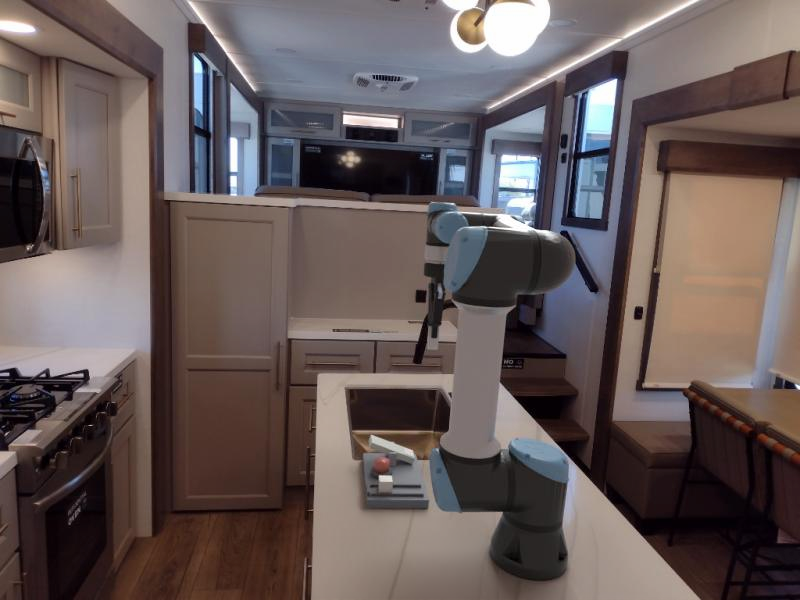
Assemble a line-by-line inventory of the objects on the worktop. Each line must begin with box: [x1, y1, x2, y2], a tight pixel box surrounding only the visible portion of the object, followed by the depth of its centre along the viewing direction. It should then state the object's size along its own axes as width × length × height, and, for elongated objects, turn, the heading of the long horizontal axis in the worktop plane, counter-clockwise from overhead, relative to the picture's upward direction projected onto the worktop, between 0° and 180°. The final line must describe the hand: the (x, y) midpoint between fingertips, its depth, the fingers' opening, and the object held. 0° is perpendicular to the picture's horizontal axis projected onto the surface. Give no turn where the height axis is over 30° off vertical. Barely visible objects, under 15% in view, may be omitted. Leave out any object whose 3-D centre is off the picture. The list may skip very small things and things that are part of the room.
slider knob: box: [378, 475, 393, 493], centre depth 134 cm, size 3×3×3 cm
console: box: [362, 441, 430, 509], centre depth 142 cm, size 24×14×6 cm, turn 6°
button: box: [374, 457, 390, 473], centre depth 141 cm, size 4×4×2 cm
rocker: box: [368, 434, 415, 464], centre depth 149 cm, size 5×12×2 cm, turn 96°
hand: (432, 348), depth 156 cm, fingers closed
